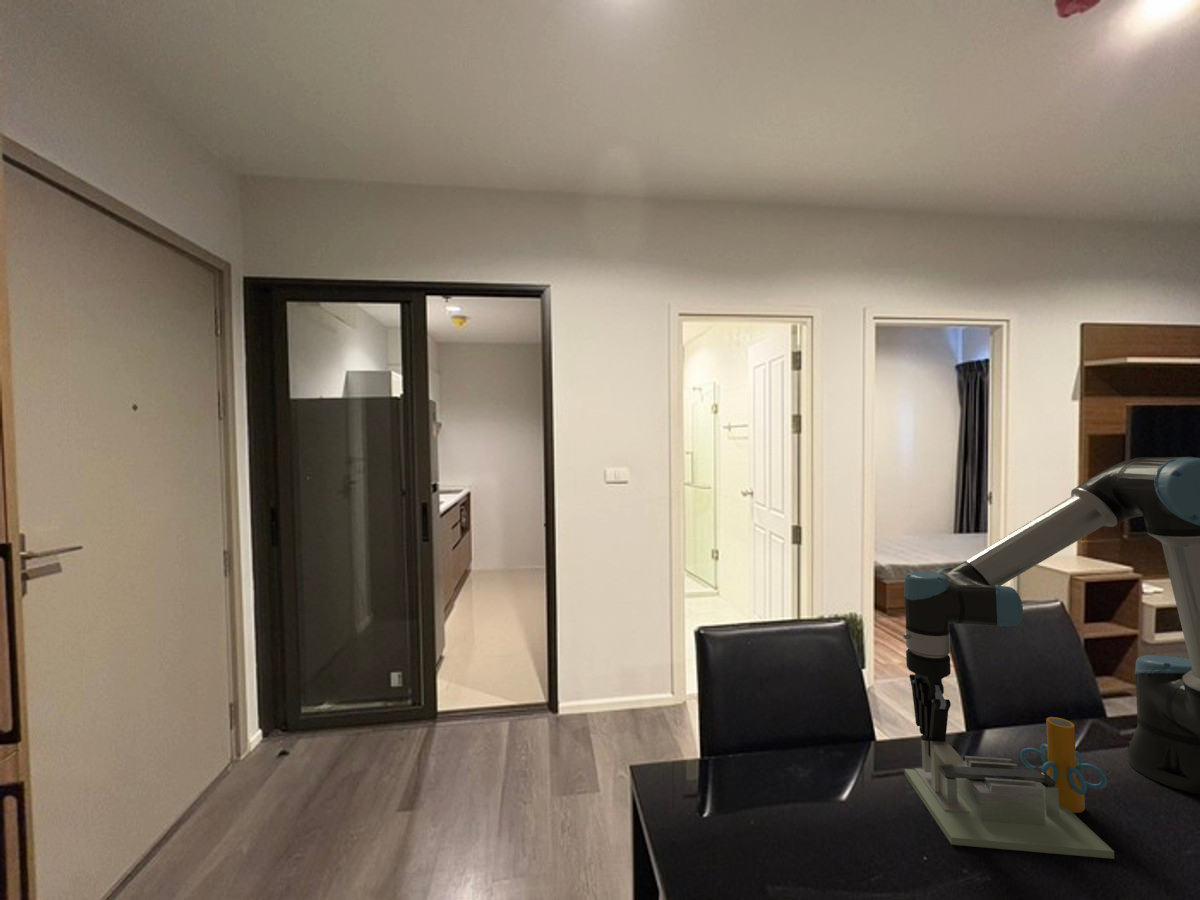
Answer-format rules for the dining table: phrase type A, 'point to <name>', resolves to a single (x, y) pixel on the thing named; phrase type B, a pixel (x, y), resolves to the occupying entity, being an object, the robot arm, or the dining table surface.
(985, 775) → the strap
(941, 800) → the board
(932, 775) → the latch
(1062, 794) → the orange tube with rings
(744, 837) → the dining table surface
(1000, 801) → the heatsink
